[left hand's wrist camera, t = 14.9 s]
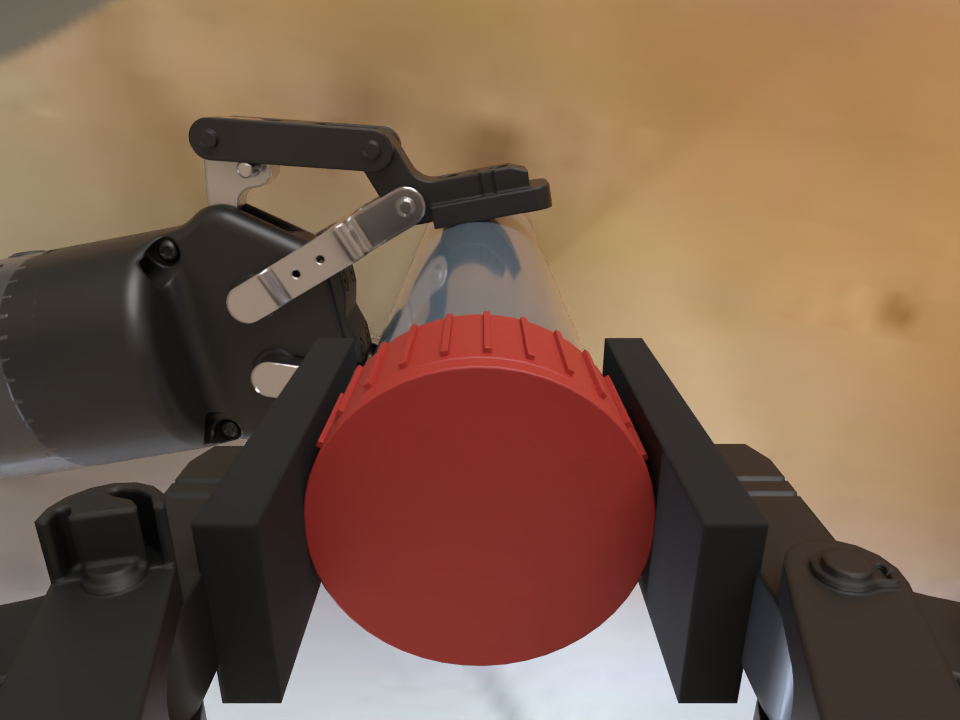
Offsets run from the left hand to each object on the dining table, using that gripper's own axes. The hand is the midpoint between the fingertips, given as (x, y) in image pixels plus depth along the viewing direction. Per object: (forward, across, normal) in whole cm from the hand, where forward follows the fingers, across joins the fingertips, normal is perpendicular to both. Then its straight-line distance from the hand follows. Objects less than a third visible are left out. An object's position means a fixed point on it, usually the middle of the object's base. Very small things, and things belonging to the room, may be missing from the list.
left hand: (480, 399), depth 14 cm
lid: (-4, 0, 0) cm, 4 cm away
